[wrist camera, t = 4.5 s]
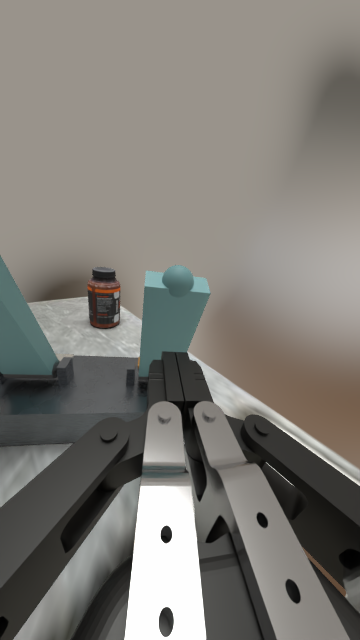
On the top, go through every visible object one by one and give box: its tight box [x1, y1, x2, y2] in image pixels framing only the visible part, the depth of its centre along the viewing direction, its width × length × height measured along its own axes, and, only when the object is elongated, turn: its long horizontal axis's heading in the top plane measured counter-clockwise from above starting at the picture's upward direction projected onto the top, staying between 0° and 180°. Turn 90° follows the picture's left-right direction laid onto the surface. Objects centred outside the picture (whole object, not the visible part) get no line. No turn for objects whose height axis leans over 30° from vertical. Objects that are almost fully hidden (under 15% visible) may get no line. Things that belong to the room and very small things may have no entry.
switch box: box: [0, 354, 192, 446], centre depth 20 cm, size 22×8×6 cm, turn 98°
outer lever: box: [138, 265, 210, 380], centre depth 16 cm, size 4×2×14 cm, turn 98°
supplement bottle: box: [88, 267, 120, 328], centre depth 37 cm, size 6×6×11 cm
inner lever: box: [0, 256, 60, 379], centre depth 13 cm, size 4×2×14 cm, turn 98°
